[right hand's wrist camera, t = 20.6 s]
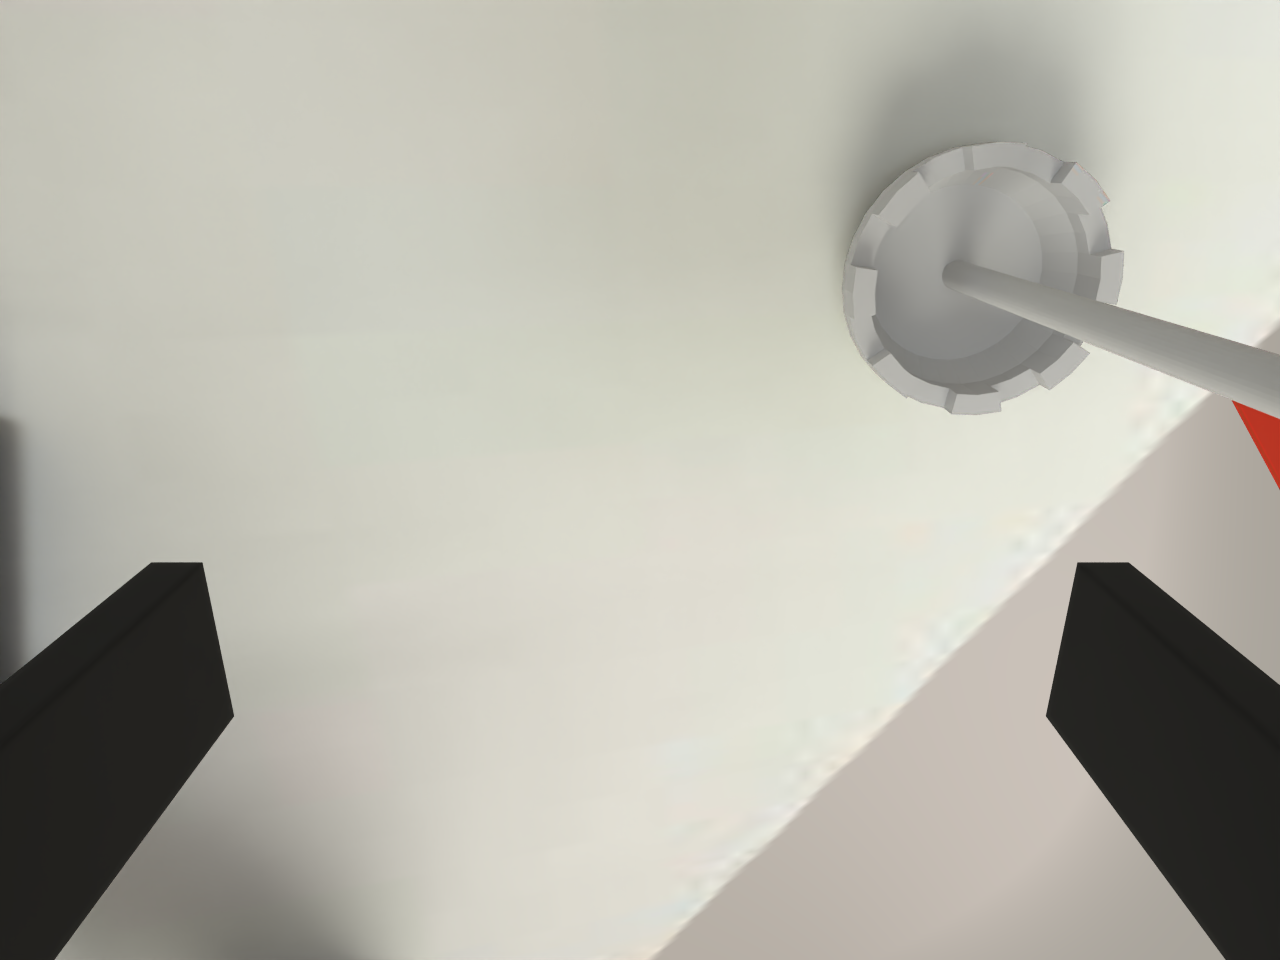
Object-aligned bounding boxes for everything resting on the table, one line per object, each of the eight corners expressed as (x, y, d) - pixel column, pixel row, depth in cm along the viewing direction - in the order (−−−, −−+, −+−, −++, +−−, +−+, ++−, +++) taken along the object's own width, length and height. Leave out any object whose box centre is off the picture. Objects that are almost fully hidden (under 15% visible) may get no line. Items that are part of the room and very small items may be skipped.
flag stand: (793, 215, 44) (1056, 299, 16) (1030, 97, 42) (1795, -35, 14) (877, 425, 49) (1203, 781, 21) (1098, 328, 47) (1792, 574, 18)
